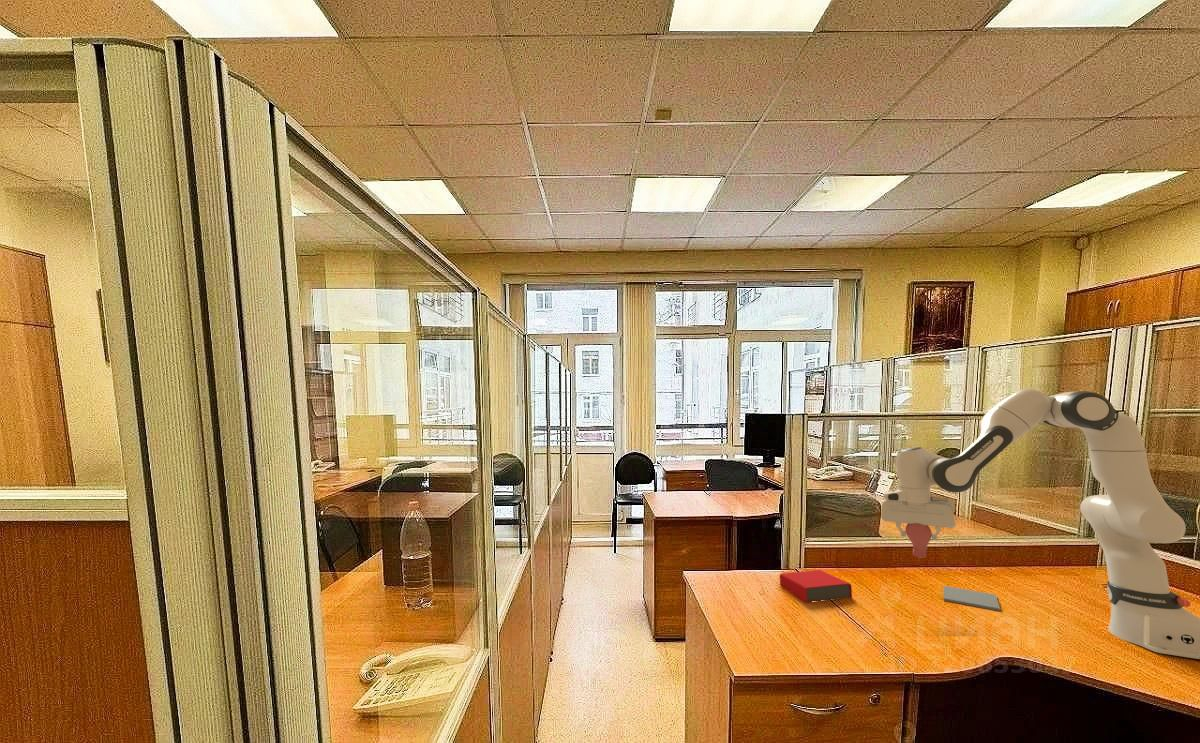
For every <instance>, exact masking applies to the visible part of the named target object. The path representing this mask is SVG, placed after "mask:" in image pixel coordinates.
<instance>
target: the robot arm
mask: <svg viewBox="0 0 1200 743" xmlns="http://www.w3.org/2000/svg"><path fill="white" fill-rule="evenodd" d="M1041 423H1045V424H1047V425H1049V426H1053V427H1056V428H1064V429H1065V428H1067V429H1080V430H1081V431H1082V432H1083V434H1084V435H1085V438H1086V440H1087V449H1088V455H1089V460H1090V466H1091V472H1092V475H1093V477H1094V478H1095V480H1096V481H1097V482H1099V483H1100V484H1101V486H1102V487H1103V489H1104V491H1106V494H1095V495H1094V494H1093V495H1090V496H1087V497H1085V498H1084V499H1083V500H1082V501H1081V504H1080V506H1079V510H1080V513H1081V515H1082V517H1083V518H1084V519H1085V520H1086V521H1087V522H1088V523H1089V525H1090V527H1091V528H1092V529H1093V532H1094V533H1095V536H1096V537H1097V540H1098V541H1099V543H1100V546H1101V548H1102V552H1103V553H1104V554H1103V555H1104V558H1105V564H1106V568H1107V570H1106V571H1107V575H1108V576H1107V577H1108V580H1107V582H1106V584H1107V586H1106V589H1107V596H1108V599H1109V602H1110V618H1109V619H1110V620H1109V624H1108V627H1107V630H1108V632H1109V633H1110V634H1112V635H1113V636H1115V637H1116V638H1118V639H1121V640H1122V641H1125V642H1128V643H1131V644H1133V645H1137V646H1139V647H1143V648H1145V649H1148V650H1149V651H1153V652H1154V653H1158V654H1164V655H1171V656H1176V657H1184V658H1191V659H1196V660H1200V617H1198V616H1197V615H1196V614H1193V613H1192V612H1190V611H1189V610H1187V609H1186V608H1189V607H1190V606H1192V603H1191V602H1190V601H1189V600H1188V599H1187V598H1186V597H1182V596H1180V595H1179V594H1177V593H1175V592H1173V591H1171V590H1170V585H1169V577H1168V571H1167V566H1166V563H1165V561H1164V560H1163V559H1162V557H1160V556H1159V555H1158V554H1157V553H1156V551H1155V550H1154V549H1153V547H1152V546H1151V543H1154V544H1172V543H1176V542H1178V541H1179V540H1181V539H1183V537H1184V535H1185V534H1186V531H1187V528H1186V526H1187V525H1186V523H1185V521H1184V519H1183V517H1181V515H1179V514H1178V513H1177V512H1176V511H1174V510H1173V509H1172V508H1171V507H1170V506H1169V505H1168V504H1167V503H1166V501H1165V499H1164V498H1163V496H1162V495H1161V493H1160V492H1159V490H1158V488H1157V486H1156V485H1155V483H1154V480H1153V478H1152V475H1151V470H1150V466H1149V461H1148V457H1147V456H1148V455H1147V451H1146V447H1145V443H1144V440H1143V437H1142V434H1141V431H1140V429H1139V426H1138V425H1137V423H1136V421H1135V420H1134V419H1133V417H1131V416H1130V415H1128V414H1123V413H1119V412H1118V410H1117V409H1115V407H1114V406H1113V403H1112V402H1111V401H1110V400H1109V399H1108V398H1106V397H1105V396H1104V395H1102V394H1100V393H1097V392H1095V391H1094V392H1093V391H1087V390H1086V391H1085V390H1080V391H1078V390H1077V391H1065V392H1061V393H1056V394H1054V393H1053V394H1049V395H1046V394H1045V393H1044V392H1041V391H1039V390H1037V389H1034V388H1021V389H1019V390H1017V391H1015V392H1013V393H1011V394H1010V395H1008V396H1007V397H1005V398H1004V399H1002V400H1000V401H999V402H998V403H996V404H995V405H994V406H992V407H991V408H990V409H989V410H988V411H986V413H985V414H984V415H983V416H982V417H981V419H980V420H979V422H978V427H979V431H980V432H979V436H978V438H977V439H976V440H975V441H973V443H971V444H970V445H969V446H968V447H967V448H966V449H965V450H963V451H962V452H961V453H960V454H959V455H957V456H955V457H952V458H951V457H950V458H949V457H948V458H947V457H946V456H945V457H944V456H941V455H938V454H935V453H932V452H930V451H928V450H926V449H925V448H923V447H921V446H912V447H906V448H902V449H899V451H898V452H897V454H896V458H895V460H896V461H895V466H896V475H897V477H898V483H897V486H898V487H897V489H893V490H889V491H887V492H884V493H883V498H884V500H883V502H882V504H881V511H880V512H881V519H882V520H883V522H888V523H895V526H896V528H897V529H898V531H899V532H900V536H901V537H903V538H905V537H907V534H906V530H904V529H903V528H902V527H901V526H902V524H906V525H907V524H913V523H919V524H922V525H927V526H929V527H934V529H935V530H936V531H935V532H934V533H932V536H931V540H932V541H939V540H938V539H939V538H938V535H939V533H940V532H941V530H942V529H941V528H947V529H948V528H949V529H954V528H955V527H956V525H957V524H956V520H955V514H954V512H955V511H956V505H955V502H954V501H953V500H951V499H949V498H948V497H937V496H931V485H936V486H938V487H939V488H941V489H942V490H944V491H946V492H949V493H963V492H966V491H968V490H969V489H971V487H973V484H974V483H975V480H976V479H977V476H978V474H979V473H980V472H981V470H982V469H983V468H984V467H986V466H987V465H988V464H989V463H991V461H992V460H993V459H994V458H996V457H997V456H998V455H999V454H1001V453H1002V452H1003V451H1004V450H1005V449H1006V448H1008V447H1009V446H1010V445H1011V444H1014V443H1015V442H1017V441H1018V440H1019V439H1020V438H1022V437H1024V436H1025V435H1026V434H1027V433H1029V432H1030V431H1032V430H1033V429H1034V428H1035V427H1036V426H1037V425H1038V424H1041ZM1184 607H1185V608H1184Z"/></svg>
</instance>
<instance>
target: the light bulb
mask: <svg viewBox="0 0 1200 743" xmlns="http://www.w3.org/2000/svg"><path fill="white" fill-rule="evenodd" d="M905 531H906V537H908V540H910V542H911V543H912V554H913V556H914V557H916V558H918V559H923V558H927V556H928V555H927V553H928V552H927V550H928V544H930V541H931V540H932V534H933V533H932V530H931V527H930V526H927V525H922V524H919V523H913V524H907V523H906V526H905Z"/></svg>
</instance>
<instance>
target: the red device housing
mask: <svg viewBox="0 0 1200 743" xmlns="http://www.w3.org/2000/svg"><path fill="white" fill-rule="evenodd" d="M779 584H780V586H781V587H783V588H784V589H785V588H786V590H787V591H788V592H790V594H793V595H794V596H796V597H797V598H799V599H800V600H802V602H805V603H806V604H812V603H811V602H812V601H821V600H830V599H838V598H840V599H847V598H846V597H848V598H849V597H850V599H852V598H853V592H852V590H853V589H852V584H851V583H849V582H847V581H845V580H843V579H841V578H839V577H837V576H835V575H832V574H830V573H828V572H826V571H824V570H821V569H818V570H817V569H816V570H806V571H795V572H784V573H780V574H779ZM838 600H839V599H838ZM830 601H831V600H830Z"/></svg>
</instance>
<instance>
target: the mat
mask: <svg viewBox="0 0 1200 743" xmlns="http://www.w3.org/2000/svg"><path fill="white" fill-rule="evenodd" d="M942 587H943V601H944V602H949V603H955V604H959V605H965V606H971V607H975V608H976V607H977V608H980V609H986V610H992V611H996V612H997V611H998V612H1001V608H1000V605H999V601H998V598H997V595H996V594H994V593H989V592H983V591H978V590H973V589H972V590H970V589H965V588H958V587H955V586H947V585H943V586H942Z"/></svg>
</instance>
